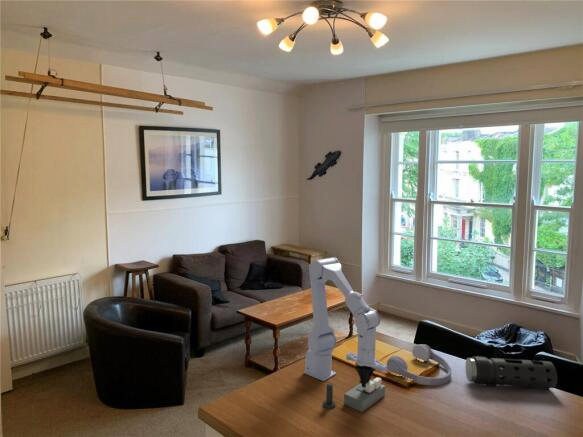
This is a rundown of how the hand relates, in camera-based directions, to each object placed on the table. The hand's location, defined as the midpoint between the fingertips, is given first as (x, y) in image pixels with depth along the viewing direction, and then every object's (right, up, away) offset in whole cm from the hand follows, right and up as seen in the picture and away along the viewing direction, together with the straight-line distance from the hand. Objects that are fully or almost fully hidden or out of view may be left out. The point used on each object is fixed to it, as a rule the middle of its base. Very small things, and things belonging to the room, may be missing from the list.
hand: (365, 386), depth 145 cm
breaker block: (0, -5, +1) cm, 5 cm away
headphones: (+26, -3, +21) cm, 33 cm away
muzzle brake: (+53, -5, +11) cm, 54 cm away
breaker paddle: (+1, -1, -1) cm, 2 cm away
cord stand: (-12, -5, -3) cm, 14 cm away
